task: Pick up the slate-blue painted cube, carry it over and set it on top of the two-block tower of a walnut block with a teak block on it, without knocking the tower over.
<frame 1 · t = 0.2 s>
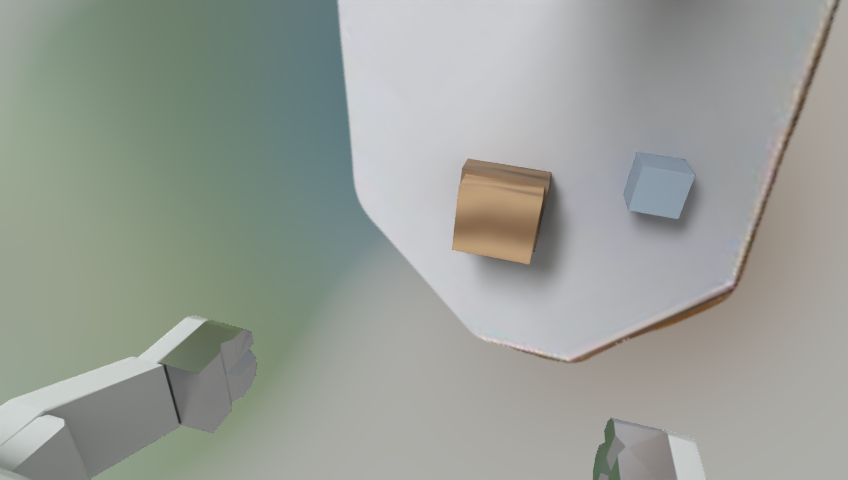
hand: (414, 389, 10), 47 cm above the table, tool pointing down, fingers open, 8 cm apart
slate cube: (653, 176, 52), on the table
teak block: (499, 211, 55), point 4 cm above the table, touching walnut block
walnut block: (503, 198, 59), on the table, touching teak block
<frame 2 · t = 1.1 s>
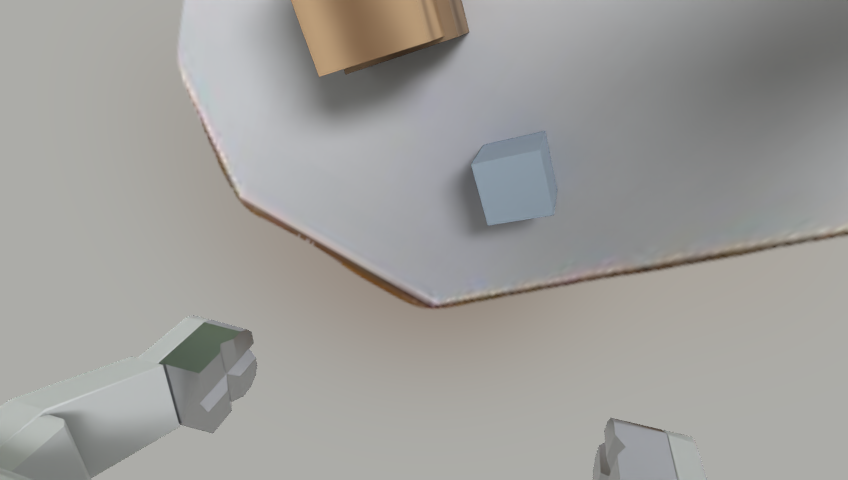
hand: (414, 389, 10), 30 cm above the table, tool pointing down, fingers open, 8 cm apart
slate cube: (520, 167, 38), on the table
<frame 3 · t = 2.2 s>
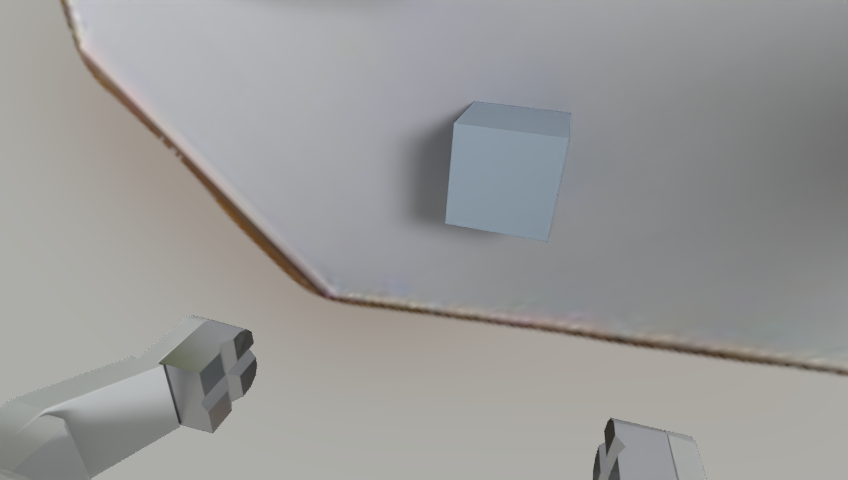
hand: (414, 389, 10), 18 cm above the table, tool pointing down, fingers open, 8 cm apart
slate cube: (514, 152, 26), on the table
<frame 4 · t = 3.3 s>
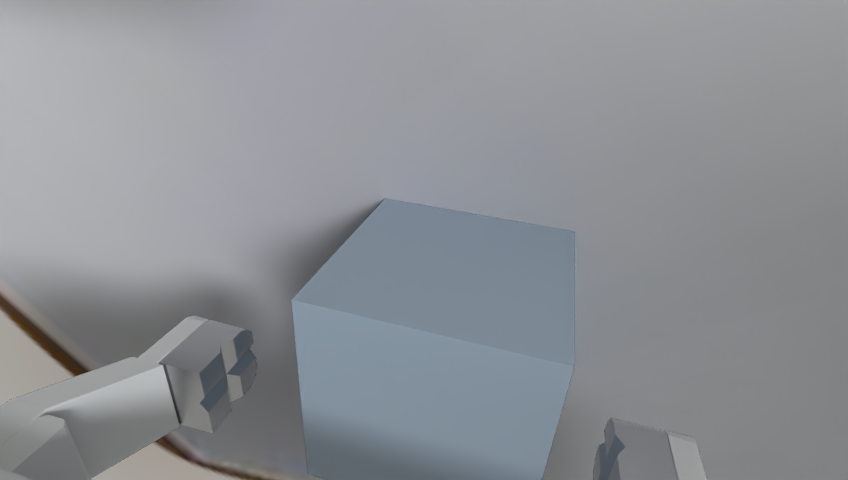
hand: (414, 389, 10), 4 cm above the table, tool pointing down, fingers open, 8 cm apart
slate cube: (466, 291, 13), on the table
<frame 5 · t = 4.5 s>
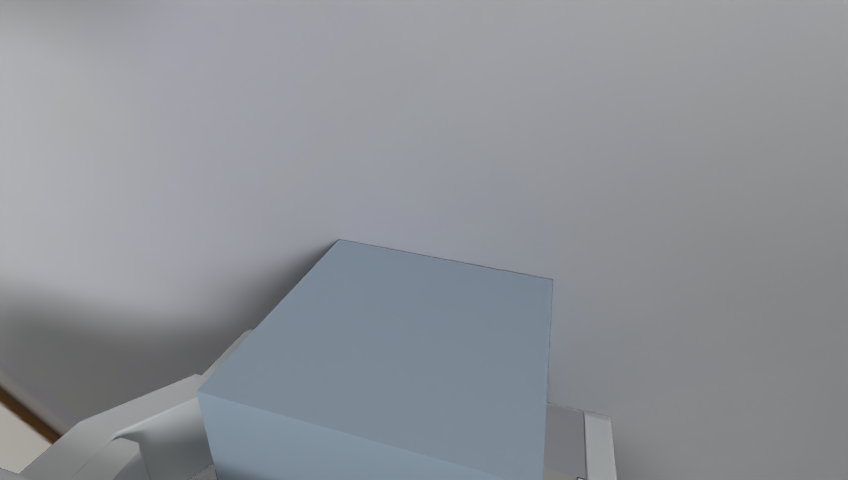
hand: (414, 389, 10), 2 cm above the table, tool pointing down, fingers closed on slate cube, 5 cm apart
slate cube: (433, 343, 12), on the table, touching gripper
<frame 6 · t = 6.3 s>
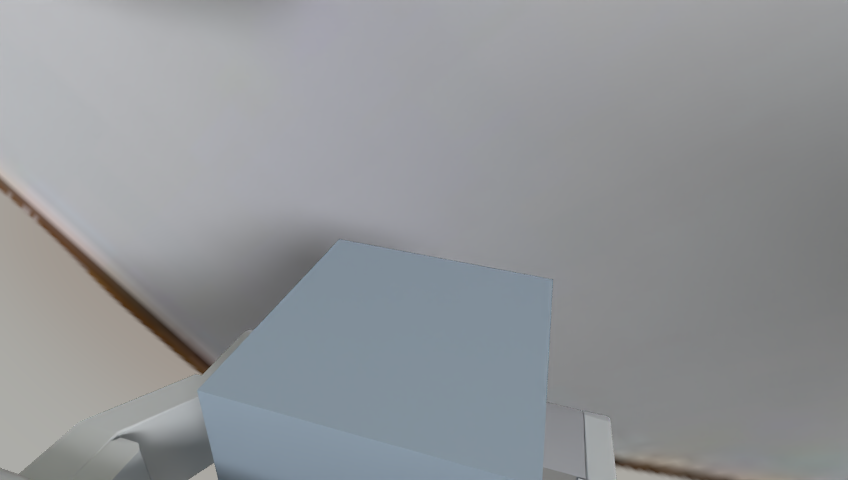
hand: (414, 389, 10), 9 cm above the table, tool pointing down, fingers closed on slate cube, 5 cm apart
slate cube: (433, 343, 12), point 7 cm above the table, touching gripper
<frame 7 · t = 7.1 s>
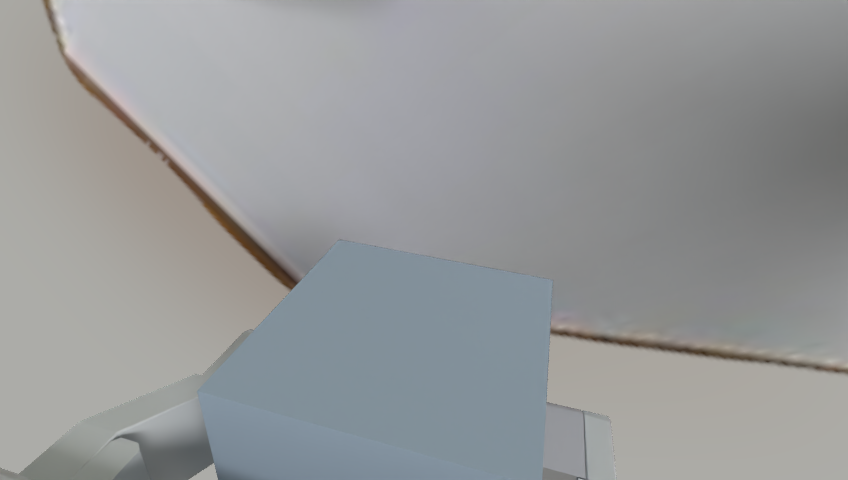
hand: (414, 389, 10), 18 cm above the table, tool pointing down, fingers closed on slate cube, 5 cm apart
slate cube: (433, 343, 12), point 16 cm above the table, touching gripper
when the fingers open (11 cm above the table, at t = 12.3 s): slate cube drops 2 cm, point 8 cm above the table.
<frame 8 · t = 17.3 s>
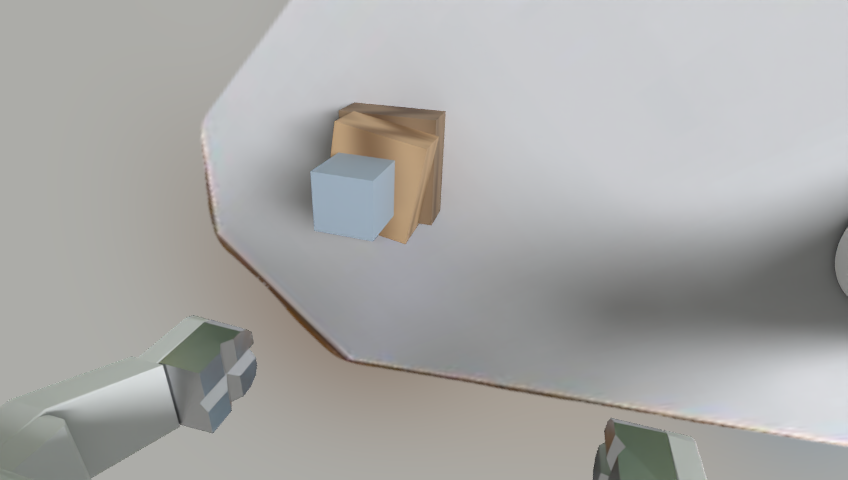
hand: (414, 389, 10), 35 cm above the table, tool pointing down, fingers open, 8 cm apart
slate cube: (366, 184, 40), point 8 cm above the table
teak block: (387, 170, 43), point 4 cm above the table, touching walnut block
walnut block: (399, 156, 47), on the table, touching teak block
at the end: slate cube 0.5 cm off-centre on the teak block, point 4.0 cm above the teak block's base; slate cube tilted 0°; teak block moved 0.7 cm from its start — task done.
